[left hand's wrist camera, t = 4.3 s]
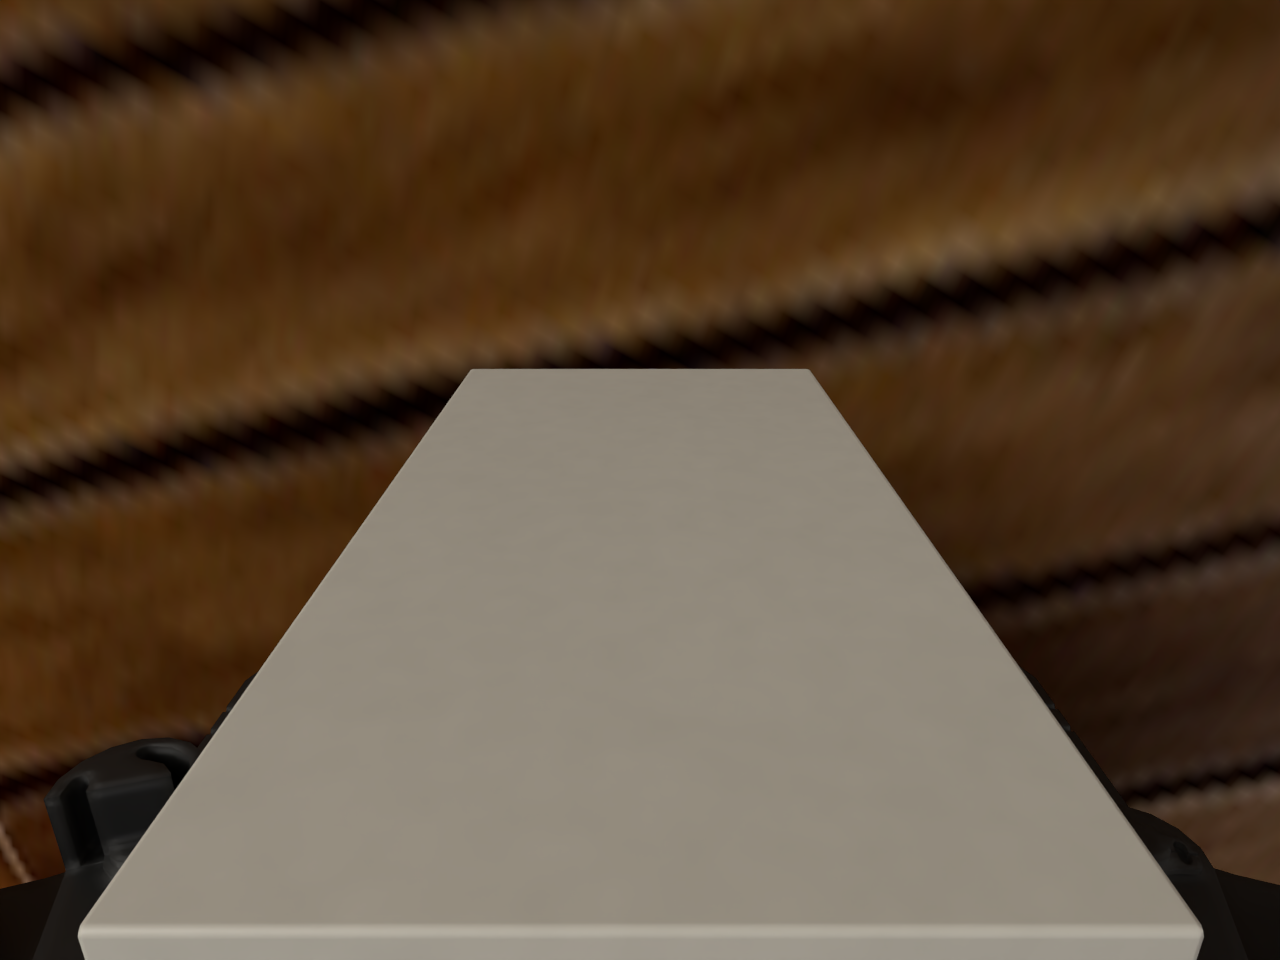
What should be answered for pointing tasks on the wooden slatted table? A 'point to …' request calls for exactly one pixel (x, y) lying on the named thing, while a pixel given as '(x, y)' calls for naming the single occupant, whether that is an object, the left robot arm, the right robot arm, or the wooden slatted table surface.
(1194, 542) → the wooden slatted table surface
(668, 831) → the box
